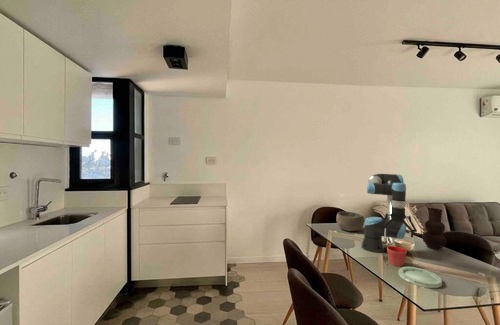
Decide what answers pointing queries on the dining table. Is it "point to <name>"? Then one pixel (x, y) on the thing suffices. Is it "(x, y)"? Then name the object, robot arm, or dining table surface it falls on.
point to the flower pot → (396, 255)
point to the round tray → (420, 277)
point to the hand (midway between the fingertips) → (397, 240)
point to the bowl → (350, 221)
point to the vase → (434, 230)
